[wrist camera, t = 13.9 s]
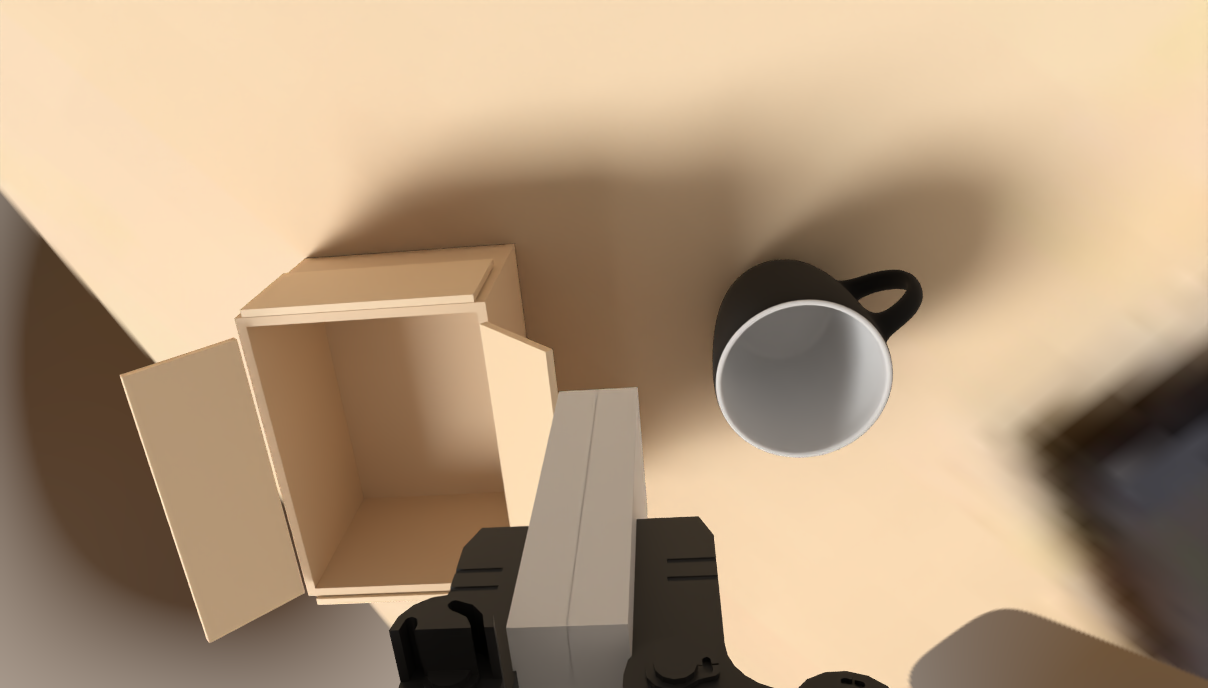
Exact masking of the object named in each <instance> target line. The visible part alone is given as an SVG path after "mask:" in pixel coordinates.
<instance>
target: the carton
mask: <svg viewBox="0 0 1208 688" xmlns="http://www.w3.org/2000/svg"><path fill="white" fill-rule="evenodd" d="M234 319H235V323H236V326H237V330H238V334H239V337H240V341H241V345H242V349H243V352H244V356H245V360H246V364H247V367H248V371H249V375H250V378H251V382H252V386H253V390H254V393H255V397H256V401H257V405H258V408H259V412H260V416H261V420H262V423H263V427H264V431H265V434H266V438H267V442H268V446H269V449H270V453H271V457H272V461H273V464H274V468H275V472H276V475H277V479H278V483H279V487H280V490H281V494H282V498H283V502H284V505H285V509H286V513H287V516H288V520H289V524H290V528H291V531H292V535H293V539H294V543H295V546H296V550H297V554H298V557H299V561H300V565H301V569H302V572H303V576H304V580H305V584H306V587H307V590H308V595H309V596H318V597H317V599H316V600H317V604H318V605H321V604H323V605H324V604H350V603H377V602H403V601H425V600H427V599H429V598H432V597H437V596H443V595H448V592H450V586H451V583H452V580H453V577H454V574H456V568H457V565H458V562H459V559H460V556H461V553H462V550H463V547H464V546H465V545H466V544H467V543H468V542H469V541H470V540H471V539H472V538H473V537H474V536H475V535H476V534H477V533H478V531H479V530H480V529H481V528H491V527H511V524H510V518H509V511H508V505H507V498H506V492H505V485H504V479H503V472H502V466H501V459H500V453H499V446H498V440H497V433H496V427H495V420H494V414H493V407H492V401H491V395H490V388H489V382H488V375H487V369H486V362H485V356H484V349H483V343H482V336H481V330H480V324H481V323H484V322H489V323H491V324H494V325H496V326H498V327H501V328H503V329H506V330H508V331H510V332H513V333H515V334H517V335H520V336H522V337H525V338H527V336H526V328H525V321H524V313H523V306H522V298H521V291H520V283H519V276H518V268H517V261H516V253H515V246H514V244H503V245H489V246H475V247H461V248H447V249H433V250H419V251H405V252H391V253H377V254H363V255H349V256H335V257H321V258H307V259H304V260H303V261H302V262H300V263H299V264H298V265H297V266H296V267H294V268H293V269H292V270H291V271H290V272H289V273H283V274H282V275H281V276H280V277H279V278H277V279H276V280H275V281H274V282H273V283H271V284H270V285H269V286H268V287H267V288H266V289H264V290H263V291H262V292H261V293H260V294H258V295H257V296H256V297H255V298H254V299H252V300H251V301H250V302H249V303H248V304H246V305H245V306H244V307H243V308H242V309H241V310H240V314H239V315H238V316H237V317H236V318H234Z"/></svg>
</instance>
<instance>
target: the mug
mask: <svg viewBox="0 0 1208 688" xmlns="http://www.w3.org/2000/svg"><path fill="white" fill-rule="evenodd" d="M889 289H904V290H906V292H905V294H904V295H903V296H902V298H901V299H900V300H899V301H898V302H897V303H895V304H894V305H893V306H892V307H890V308H889V309H887V310H885V311H883V312H880V313H872V312H870V311H868V310H866V309H865V308H863V306H862V305H861V304H860V303H859V302H858V300H859V299H861V298H863V297H864V296H867V295H869V294H872V293H875V292H879V291H883V290H889ZM922 299H923V293H922V288H921V285H920V283H919V282H918V280H917V279H916V278H915V277H914V276H913V275H912V274H910V273H908V272H905V271H902V270H885V271H879V272H874V273H871V274H867V275H864V276H861V277H857V278H854V279H850V280H845V281H837V280H835V279H834V278H833V277H831V276H830V275H828V274H827V273H825V272H824V271H822V270H820V269H818V268H816V267H814V266H812V265H810V264H807V263H804V262H800V261H795V260H774V261H769V262H765V263H762V264H759V265H757V266H755V267H753V268H751V269H750V270H748V271H747V272H745V273H744V274H743V275H741V276H740V277H739V278H738V279H737V280H736V281H735V282H734V283H733V285H732V286H731V287H730V289H729V290H728V292H727V293H726V295H725V297H724V299H723V301H722V304H721V306H720V309H719V313H718V316H717V320H716V325H715V331H714V340H713V380H714V387H715V393H716V397H717V401H718V404H719V407H720V409H721V412H722V413H723V415H724V417H725V419H726V421H727V422H728V423H729V425H730V426H731V427H732V429H733V430H734V431H735V432H736V433H737V434H738V435H739V436H740V437H741V438H743V439H744V440H745V441H747V442H748V443H750V444H751V445H753V446H755V447H757V448H758V449H761V450H763V451H765V452H768V453H771V454H775V455H779V456H785V457H798V458H800V457H813V456H818V455H823V454H827V453H830V452H833V451H835V450H838V449H840V448H842V447H844V446H846V445H848V444H850V443H852V442H853V441H855V440H856V439H857V438H859V437H860V436H862V435H863V434H864V433H865V432H866V431H867V430H868V429H869V428H870V427H871V426H872V425H873V424H874V423H875V421H876V420H877V419H878V417H879V416H880V414H881V413H882V411H883V409H884V407H885V405H886V403H887V401H888V398H889V395H890V391H891V387H892V380H893V368H892V361H891V355H890V352H889V349H888V346H887V344H886V342H887V340H888V339H889V337H890V336H891V335H892V334H893V333H895V332H896V331H897V330H898V329H899V328H900V327H902V326H903V325H904V324H905V323H906V322H907V321H909V320H910V319H911V318H912V317H913V316H914V314H915V313H916V312H917V310H918V309H919V307H920V305H921V302H922Z"/></svg>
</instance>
